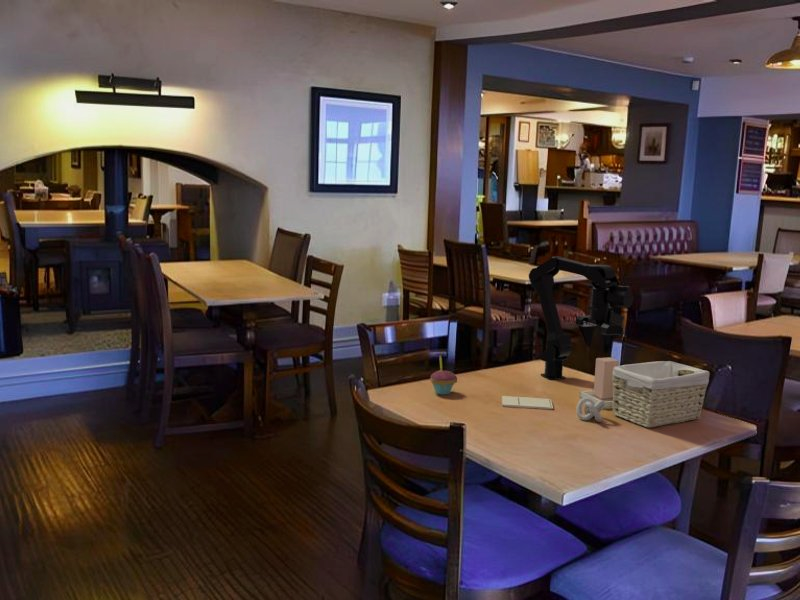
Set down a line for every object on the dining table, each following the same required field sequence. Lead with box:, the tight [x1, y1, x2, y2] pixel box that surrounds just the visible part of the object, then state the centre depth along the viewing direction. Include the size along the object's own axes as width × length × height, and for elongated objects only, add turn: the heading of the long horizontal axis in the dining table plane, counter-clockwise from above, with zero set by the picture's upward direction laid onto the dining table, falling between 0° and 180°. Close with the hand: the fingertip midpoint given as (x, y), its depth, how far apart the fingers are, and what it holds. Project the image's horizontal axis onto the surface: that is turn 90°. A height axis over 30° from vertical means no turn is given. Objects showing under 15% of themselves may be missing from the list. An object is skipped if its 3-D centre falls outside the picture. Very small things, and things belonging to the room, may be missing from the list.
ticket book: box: [501, 395, 554, 410], centre depth 216 cm, size 9×15×1 cm, turn 83°
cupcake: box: [430, 355, 458, 396], centre depth 224 cm, size 9×8×12 cm
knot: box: [575, 398, 605, 423], centre depth 202 cm, size 8×8×6 cm
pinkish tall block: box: [593, 356, 620, 402], centre depth 219 cm, size 5×5×13 cm
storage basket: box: [612, 360, 710, 428], centre depth 205 cm, size 24×16×15 cm
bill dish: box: [578, 389, 613, 410], centre depth 220 cm, size 12×10×2 cm
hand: (597, 350), depth 233 cm, fingers open, 9 cm apart
